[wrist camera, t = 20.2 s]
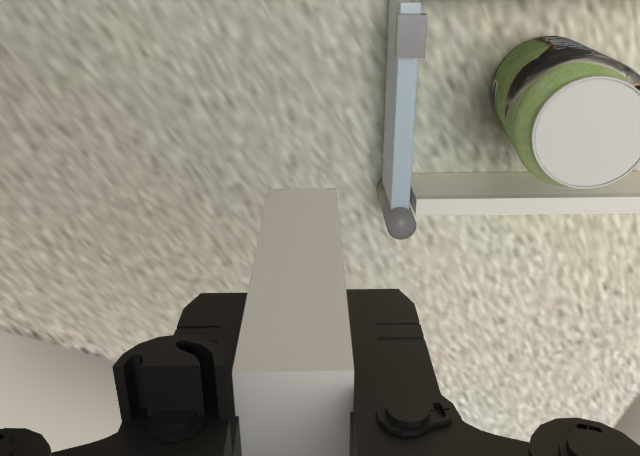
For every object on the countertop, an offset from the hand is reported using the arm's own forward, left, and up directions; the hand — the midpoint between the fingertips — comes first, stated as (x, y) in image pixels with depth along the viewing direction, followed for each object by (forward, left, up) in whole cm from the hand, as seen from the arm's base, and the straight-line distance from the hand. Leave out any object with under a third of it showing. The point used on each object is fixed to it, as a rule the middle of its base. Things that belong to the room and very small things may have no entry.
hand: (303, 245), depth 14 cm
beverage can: (+13, -1, -25) cm, 28 cm away
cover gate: (+5, -2, -24) cm, 25 cm away
